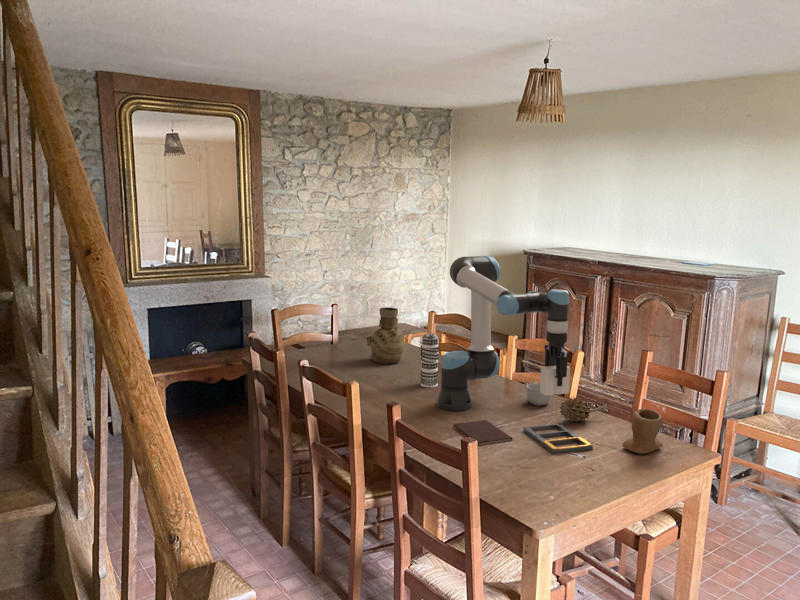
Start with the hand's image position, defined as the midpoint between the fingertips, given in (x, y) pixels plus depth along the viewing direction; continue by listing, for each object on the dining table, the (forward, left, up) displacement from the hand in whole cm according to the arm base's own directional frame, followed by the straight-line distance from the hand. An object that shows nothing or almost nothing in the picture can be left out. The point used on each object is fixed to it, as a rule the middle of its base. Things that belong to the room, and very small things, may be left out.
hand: (554, 392), depth 231 cm
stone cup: (+26, -20, -18) cm, 37 cm away
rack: (0, -4, -18) cm, 18 cm away
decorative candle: (-25, +73, -18) cm, 79 cm away
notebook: (-25, +9, -18) cm, 32 cm away
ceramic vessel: (-34, +119, -18) cm, 125 cm away
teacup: (+14, +37, -18) cm, 44 cm away
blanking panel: (0, 0, 0) cm, 0 cm away
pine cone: (+21, +12, -18) cm, 30 cm away
